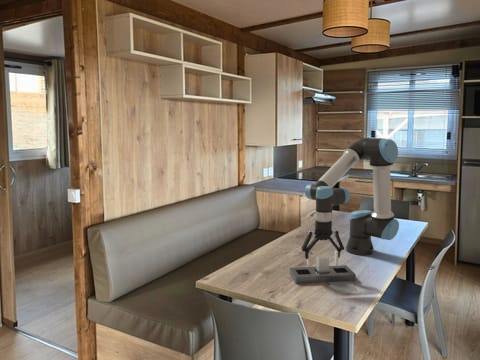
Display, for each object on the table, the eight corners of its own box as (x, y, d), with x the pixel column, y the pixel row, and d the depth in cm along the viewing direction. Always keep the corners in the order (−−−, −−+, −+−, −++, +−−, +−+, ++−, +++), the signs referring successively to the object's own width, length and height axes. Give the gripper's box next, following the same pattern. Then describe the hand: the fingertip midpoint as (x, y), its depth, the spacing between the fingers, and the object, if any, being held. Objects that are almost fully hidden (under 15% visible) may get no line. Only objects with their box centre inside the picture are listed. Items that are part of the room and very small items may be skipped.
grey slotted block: (345, 273, 202) (346, 265, 201) (355, 282, 190) (355, 274, 189) (289, 275, 198) (289, 267, 198) (295, 285, 187) (295, 277, 186)
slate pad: (349, 283, 189) (349, 281, 189) (357, 292, 180) (357, 290, 179) (327, 284, 188) (328, 282, 188) (335, 293, 178) (335, 291, 178)
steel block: (325, 275, 196) (325, 254, 195) (328, 278, 192) (328, 258, 190) (315, 275, 196) (316, 255, 194) (318, 279, 191) (319, 258, 190)
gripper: (299, 223, 185) (298, 268, 188) (352, 221, 187) (350, 266, 191) (295, 218, 192) (294, 263, 195) (346, 217, 195) (344, 260, 198)
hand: (322, 264), depth 193 cm, fingers open, 12 cm apart
